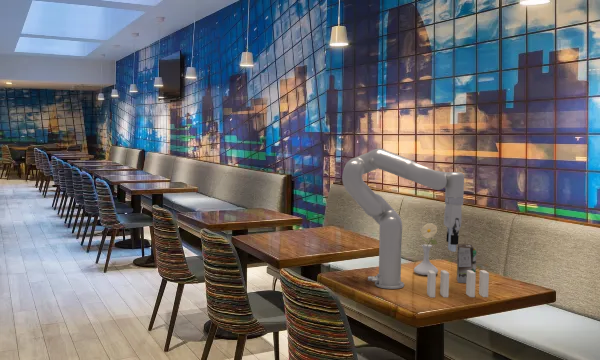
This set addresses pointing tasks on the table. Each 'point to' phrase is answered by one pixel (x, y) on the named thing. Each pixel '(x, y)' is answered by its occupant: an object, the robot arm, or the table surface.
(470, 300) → the table surface
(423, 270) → the flower in vase
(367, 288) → the table surface
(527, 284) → the table surface
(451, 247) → the domino
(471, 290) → the domino
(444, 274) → the domino
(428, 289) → the domino
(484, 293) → the domino
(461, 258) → the coffee box
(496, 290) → the table surface
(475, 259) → the beverage can
